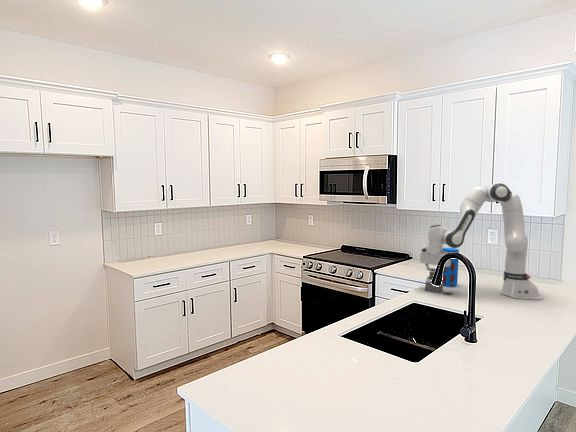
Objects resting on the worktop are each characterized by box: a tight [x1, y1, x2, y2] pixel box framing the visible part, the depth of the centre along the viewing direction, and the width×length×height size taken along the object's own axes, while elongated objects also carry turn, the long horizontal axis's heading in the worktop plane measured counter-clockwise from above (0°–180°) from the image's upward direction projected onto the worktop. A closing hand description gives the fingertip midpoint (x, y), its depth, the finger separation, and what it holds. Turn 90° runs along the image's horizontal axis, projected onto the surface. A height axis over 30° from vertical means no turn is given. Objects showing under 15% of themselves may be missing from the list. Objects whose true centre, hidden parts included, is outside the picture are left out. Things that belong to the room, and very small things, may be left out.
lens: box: [428, 267, 437, 279], centre depth 252 cm, size 5×5×8 cm
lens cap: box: [443, 291, 454, 296], centre depth 245 cm, size 6×6×1 cm
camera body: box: [424, 276, 444, 294], centre depth 253 cm, size 10×9×8 cm
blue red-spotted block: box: [442, 247, 460, 288], centre depth 267 cm, size 11×11×25 cm
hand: (434, 271), depth 252 cm, fingers open, 8 cm apart
